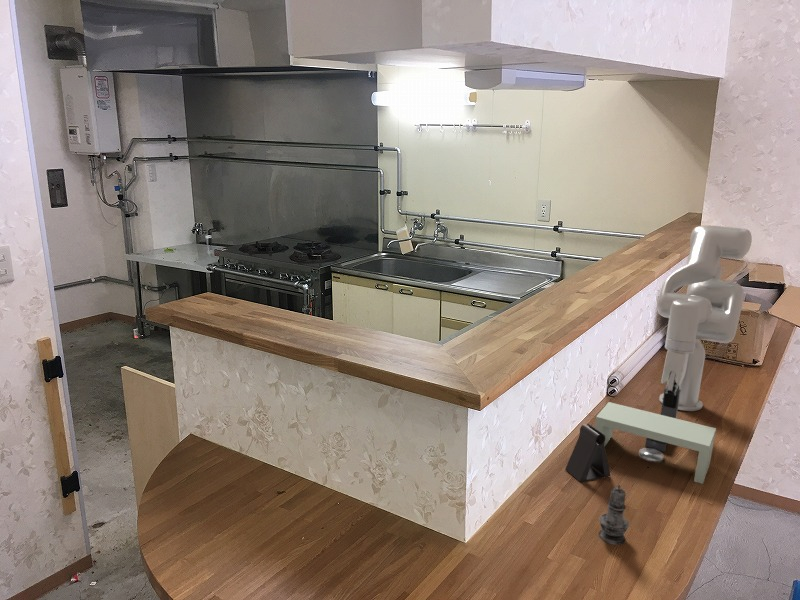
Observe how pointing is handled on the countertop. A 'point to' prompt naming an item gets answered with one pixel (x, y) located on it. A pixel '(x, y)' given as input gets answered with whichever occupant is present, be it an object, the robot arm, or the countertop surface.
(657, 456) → the steel disc
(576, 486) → the countertop surface
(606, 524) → the grey tall tapered piece
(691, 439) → the low shelf
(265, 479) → the countertop surface
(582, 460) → the black wedge-shaped stand
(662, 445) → the gray l-shaped block
